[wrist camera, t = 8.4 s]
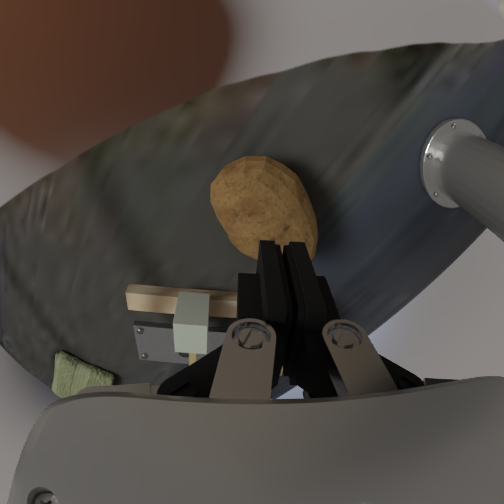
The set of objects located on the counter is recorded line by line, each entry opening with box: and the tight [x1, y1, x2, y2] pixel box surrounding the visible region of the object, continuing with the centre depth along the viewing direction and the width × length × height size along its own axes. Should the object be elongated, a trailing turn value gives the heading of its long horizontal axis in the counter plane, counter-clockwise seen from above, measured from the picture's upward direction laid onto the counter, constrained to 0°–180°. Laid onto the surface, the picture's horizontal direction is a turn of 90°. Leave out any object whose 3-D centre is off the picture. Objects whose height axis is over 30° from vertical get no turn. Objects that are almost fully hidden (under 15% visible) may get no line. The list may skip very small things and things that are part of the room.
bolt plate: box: [133, 321, 228, 364], centre depth 48 cm, size 25×8×2 cm, turn 83°
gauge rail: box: [126, 284, 283, 376], centre depth 42 cm, size 25×12×8 cm, turn 83°
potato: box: [211, 156, 318, 260], centre depth 33 cm, size 10×14×8 cm
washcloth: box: [52, 351, 114, 398], centre depth 53 cm, size 13×18×3 cm
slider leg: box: [173, 292, 210, 365], centre depth 41 cm, size 4×12×6 cm, turn 173°
